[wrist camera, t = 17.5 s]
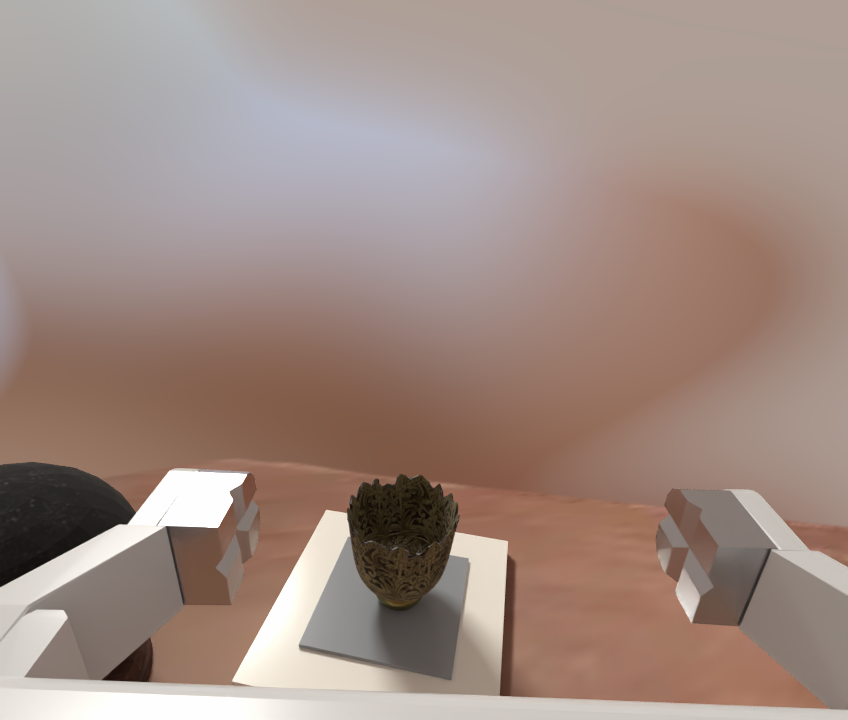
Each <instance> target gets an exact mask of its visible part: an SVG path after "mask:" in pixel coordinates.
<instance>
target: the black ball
mask: <svg viewBox="0 0 848 720" xmlns="http://www.w3.org/2000/svg"><path fill="white" fill-rule="evenodd" d="M135 514H136V512H135V511H134V509H133V508H132V507H131V505H130V504H129V503H128V502H127V500H126V499H125V498H124V497H123V495H122V494H121V493H119V492H118V491H117V490H115V489H114V488H113V487H111V486H110V485H109V484H107V483H106V482H104V481H103V480H101V479H100V478H98V477H96V476H94V475H91V474H89V473H86V472H84V471H81V470H79V469H76V468H72V467H66V466H58V465H52V464H45V463H36V462H28V463H16V464H3V465H0V587H2V586H4V585H6V584H8V583H10V582H11V581H13V580H15V579H17V578H19V577H21V576H23V575H25V574H27V573H28V572H30V571H32V570H34V569H36V568H38V567H40V566H42V565H44V564H45V563H47V562H49V561H51V560H53V559H55V558H57V557H59V556H60V555H62V554H64V553H66V552H68V551H70V550H72V549H74V548H76V547H77V546H79V545H81V544H83V543H85V542H87V541H89V540H91V539H92V538H94V537H96V536H98V535H100V534H102V533H104V532H106V531H108V530H109V529H111V528H113V527H115V526H117V525H119V524H121V525H127V524H128V523H129V522H130V520H131V519H132V518H133V517H134V515H135ZM152 649H153V648H152V643H151V639H150V638H149V639H147V640H146V641H145V642H144V643H143V644H142V645H141V646H139V647H138V648H137V649H136V650H135V651H134V652H133V653H131V654H130V655H129V656H128V657H127V658H126V659H125V660H123V661H122V662H121V663H120V664H119V665H118V666H117V667H115V668H114V669H113V670H112V671H111V672H110V673H109V674H108V675H106V676H105V677H104V678H103V679H102V680H103V681H129V682H147V680H148V677H149V673H150V669H151V665H152Z"/></svg>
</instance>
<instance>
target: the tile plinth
mask: <svg viewBox="0 0 848 720" xmlns="http://www.w3.org/2000/svg"><path fill="white" fill-rule="evenodd" d="M507 547H508V541H503V540H497V539H491V538H486V537H480V536H474V535H468V534H463V533H457V532H455V536H454V540H453V544H452V548H451V552H450V555H449V559H448V562H447V565H446V568H445V571H444V573H443V575H442V577H441V579H440V580H439V582H438V583H437V584H436V586H435V587H434V588H433V589H432V590H431V591H429V592H428V593H427V594H425V595H424V596H423V597H422V599H421V600H420V601H419V603H418V604H417V605H416V606H414V607H413V608H411V609H409V610H405V611H394V610H390V609H388V608H386V607H385V606H383V605H382V604H381V603H380V601H379V600H378V598H377V597H376V594H374V593H373V592H372V591H371V590H370V589H369V588H368V587H367V586H366V585H365V584H364V582H363V581H362V579H361V578H360V576H359V573H358V571H357V568H356V565H355V561H354V556H353V551H352V545H351V538H350V531H349V524H348V520H347V513H342V512H336V511H330V510H326V512H325V513H324V515H323V517H322V519H321V521H320V522H319V524H318V526H317V528H316V530H315V532H314V533H313V535H312V537H311V539H310V541H309V542H308V544H307V546H306V548H305V550H304V551H303V553H302V555H301V557H300V559H299V561H298V562H297V564H296V566H295V568H294V570H293V571H292V573H291V575H290V577H289V579H288V581H287V582H286V584H285V586H284V588H283V590H282V591H281V593H280V595H279V597H278V599H277V600H276V602H275V604H274V606H273V608H272V610H271V611H270V613H269V615H268V617H267V619H266V620H265V622H264V624H263V626H262V628H261V629H260V631H259V633H258V635H257V637H256V639H255V640H254V642H253V644H252V646H251V648H250V649H249V651H248V653H247V655H246V657H245V659H244V660H243V662H242V664H241V666H240V668H239V669H238V671H237V673H236V675H235V677H234V678H233V680H232V685H233V686H256V687H282V688H307V689H333V690H358V691H384V692H409V693H435V694H460V695H486V696H500V679H501V660H502V641H503V622H504V604H505V585H506V566H507Z"/></svg>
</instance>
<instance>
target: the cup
mask: <svg viewBox="0 0 848 720" xmlns="http://www.w3.org/2000/svg"><path fill="white" fill-rule="evenodd" d="M349 504H350V509H349V508H347V520H348V524H349V531H350V538H351V545H352V551H353V556H354V561H355V565H356V568H357V571H358V573H359V576H360V578H361V579H362V581H363V582H364V584H365V585H366V586H367V587H368V588H369V589H370V590H371V591H372V592H373V593H374V594H376V597H377V598H378V600H379V601H380V603H381V604H382V605H383V606H385V607H386V608H388V609H390V610H394V611H405V610H409V609H411V608H413V607H414V606H416V605H417V604H418V603H419V601H420V600H421V599H422V597H423V596H424V595H425V594H427V593H428V592H429V591H431V590H432V589H433V588H434V587H435V586H436V584H437V583H438V582H439V580H440V579H441V577H442V575H443V573H444V571H445V568H446V565H447V562H448V559H449V555H450V552H451V548H452V544H453V540H454V536H455V531H456V527H457V524H458V521H459V516H460V515H458V503H457V502H454V501H453V495H452V493H451V494H449V495H447V496H446V497H444V498H443V490H442V488H441V485H440V484H438V485H437V486H436V487H435V488H433V487H432V486H431V485H430V482H429V481H427V480H426V479H425V478H424V477H423V476H422V475H417V476H415V477H413V478H408V477H407V476H406V475H403V474H399V475H398V476H397V480H396V483H395V485H394V484H393V485H390V484H386V485H385V486H382V485H381V484H379V480H378V479H377V478H376V479H375V480H374V481H373V483H372V486H371V485H370V484H369V483H366V482H363V483H362V484H361V485H360V487H359V490H358V494H357V497H354V495H351V498H350V503H349Z"/></svg>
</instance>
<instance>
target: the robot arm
mask: <svg viewBox="0 0 848 720" xmlns="http://www.w3.org/2000/svg"><path fill="white" fill-rule="evenodd" d="M256 490H257V489H256V483H255V477H254V475H253V474H252V473H251V472H240V471H224V470H207V469H201V470H199V469H184V468H175V469H173V470H170V471H169V472H168V473H167V474H166V476H165V477H164V478H163V479H162V481H161V482H160V483H159V485H158V486H157V487H156V488H155V490H154V491H153V492H152V494H151V495H150V496H149V497H148V499H147V500H146V501H145V503H144V504H143V505H142V506H141V508H140V509H139V510H138V511H137V513H136V514H135V515H134V517H133V518H132V519H131V520H130V522H129V523H128V524H127V525H121V524H119V525H117V526H115V527H113V528H111V529H109V530H108V531H106V532H104V533H102V534H100V535H98V536H96V537H94V538H92V539H91V540H89V541H87V542H85V543H83V544H81V545H79V546H77V547H76V548H74V549H72V550H70V551H68V552H66V553H64V554H62V555H60V556H59V557H57V558H55V559H53V560H51V561H49V562H47V563H45V564H44V565H42V566H40V567H38V568H36V569H34V570H32V571H30V572H28V573H27V574H25V575H23V576H21V577H19V578H17V579H15V580H13V581H11V582H10V583H8V584H6V585H4V586H2V587H0V720H848V567H847V566H845V565H843V564H841V563H839V562H837V561H836V560H834V559H832V558H830V557H828V556H826V555H825V554H823V553H821V552H819V551H810V550H809V549H808V548H807V547H806V546H805V545H804V543H803V542H802V541H801V540H800V539H799V538H798V537H797V536H796V535H795V533H794V532H793V531H792V530H791V529H790V528H789V527H788V526H787V525H786V523H785V522H784V521H783V520H782V519H781V518H780V517H779V516H778V515H777V513H776V512H775V511H774V510H773V509H772V508H771V507H770V506H769V505H768V503H767V502H766V501H765V500H764V499H763V498H762V497H761V496H760V494H758V493H756V492H755V491H753V490H731V489H730V490H729V489H725V490H700V489H672V490H671V491H670V492H669V493H668V495H667V498H666V502H665V507H666V509H667V511H668V512H669V514H670V515H668V516H667V517H666V518H665V519H664V520H662V521H661V522H660V523H659V526H658V530H657V535H656V548H657V554H658V558H659V561H660V564H661V566H662V568H663V570H664V572H665V573H666V574H667V575H669V576H670V577H671V578H673V579H674V580H675V581H677V582H678V585H677V588H676V592H675V593H676V595H677V597H678V599H679V600H680V602H681V604H682V606H683V608H684V610H685V612H686V614H687V616H688V617H689V619H690V621H691V623H697V624H712V625H726V626H740V627H739V629H740V630H741V631H742V632H743V633H745V634H746V635H747V636H748V637H749V638H750V639H751V640H752V641H754V642H755V643H756V644H757V645H758V646H759V647H760V648H762V649H763V650H764V651H765V652H766V653H767V654H768V655H769V656H771V657H772V658H773V659H774V660H775V661H776V662H777V663H779V664H780V665H781V666H782V667H783V668H784V669H785V670H786V671H788V672H789V673H790V674H791V675H792V676H793V677H794V678H795V679H797V680H798V681H799V682H800V683H801V684H802V685H803V686H805V687H806V688H807V689H808V690H809V691H810V692H811V693H812V694H814V695H815V696H816V697H817V698H818V699H819V700H820V701H822V702H823V703H824V704H825V705H826V706H827V707H828V708H829V709H814V708H789V707H763V706H738V705H712V704H687V703H662V702H637V701H612V700H587V699H562V698H537V697H511V696H486V695H460V694H435V693H409V692H384V691H358V690H333V689H307V688H282V687H256V686H231V685H205V684H180V683H154V682H129V681H103V680H102V679H103V678H104V677H105V676H106V675H108V674H109V673H110V672H111V671H112V670H113V669H114V668H115V667H117V666H118V665H119V664H120V663H121V662H122V661H123V660H125V659H126V658H127V657H128V656H129V655H130V654H131V653H133V652H134V651H135V650H136V649H137V648H138V647H139V646H141V645H142V644H143V643H144V642H145V641H146V640H147V639H149V638H150V637H151V636H152V635H153V634H154V633H155V632H156V631H158V630H159V629H160V628H161V627H162V626H163V625H164V624H166V623H167V622H168V621H169V620H170V619H171V618H172V617H174V616H175V615H176V614H177V613H178V612H179V611H180V610H182V609H183V608H184V605H231V604H232V602H233V600H234V598H235V595H236V593H237V591H238V588H239V586H240V584H241V581H242V579H243V577H244V573H243V565H242V564H243V563H244V562H246V561H247V560H248V559H250V558H251V557H252V555H253V553H254V550H255V548H256V545H257V541H258V536H259V531H260V513H259V507H258V506H257V505H256V504H255V503H254V502H253V501H252V498H253V496H254V494H255V492H256Z"/></svg>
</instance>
